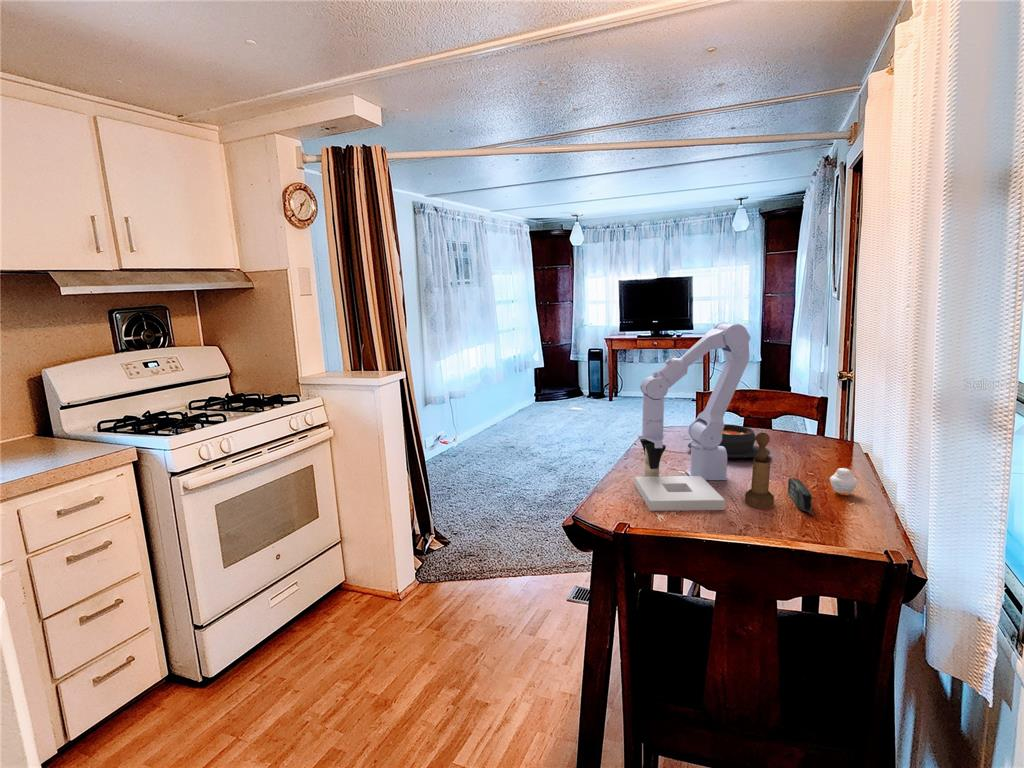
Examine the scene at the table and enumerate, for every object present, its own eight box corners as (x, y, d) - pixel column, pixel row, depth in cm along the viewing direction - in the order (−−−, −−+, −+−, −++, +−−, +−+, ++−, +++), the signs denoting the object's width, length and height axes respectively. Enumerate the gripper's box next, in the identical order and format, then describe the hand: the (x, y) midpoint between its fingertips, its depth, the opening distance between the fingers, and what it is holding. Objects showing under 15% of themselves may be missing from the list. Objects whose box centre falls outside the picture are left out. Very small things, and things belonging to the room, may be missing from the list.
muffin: (842, 499, 140) (844, 472, 139) (823, 491, 146) (825, 465, 145) (862, 496, 142) (864, 470, 141) (842, 488, 148) (844, 463, 147)
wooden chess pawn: (771, 510, 134) (775, 437, 131) (742, 505, 137) (746, 434, 135) (775, 501, 140) (779, 431, 137) (747, 496, 143) (751, 428, 140)
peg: (657, 475, 161) (657, 445, 159) (660, 479, 157) (661, 448, 155) (643, 475, 161) (643, 445, 159) (646, 480, 157) (646, 449, 155)
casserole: (772, 451, 183) (773, 426, 181) (767, 467, 167) (768, 440, 165) (693, 443, 195) (694, 419, 194) (682, 456, 179) (682, 431, 178)
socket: (700, 484, 152) (700, 475, 152) (724, 509, 135) (724, 500, 134) (634, 485, 153) (635, 476, 152) (649, 510, 135) (650, 500, 135)
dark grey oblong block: (786, 476, 144) (804, 495, 130) (799, 477, 144) (818, 496, 129) (785, 495, 145) (802, 515, 131) (798, 495, 144) (816, 516, 130)
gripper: (633, 414, 163) (632, 458, 165) (644, 425, 149) (643, 474, 151) (657, 413, 163) (656, 458, 165) (670, 425, 149) (669, 474, 151)
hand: (651, 466), depth 158 cm, fingers closed on peg, 4 cm apart
